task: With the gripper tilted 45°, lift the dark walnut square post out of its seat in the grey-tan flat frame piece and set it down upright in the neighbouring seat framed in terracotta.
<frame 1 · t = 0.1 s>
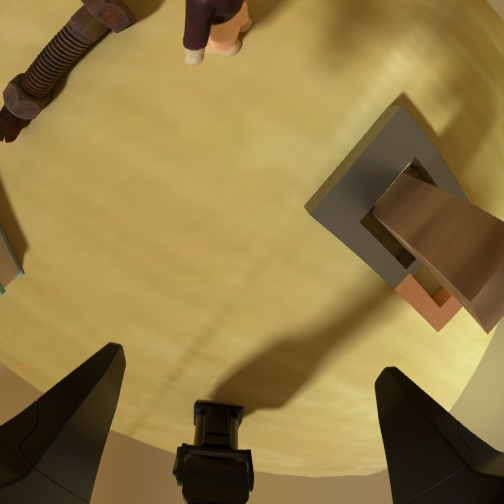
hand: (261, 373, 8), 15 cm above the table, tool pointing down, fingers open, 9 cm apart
grandmother figurine: (224, 38, 15), on the table
bolt: (63, 70, 15), on the table
grey-tan flat frame piece: (423, 235, 22), on the table
walnut post: (400, 208, 21), resting in grey-tan flat frame piece
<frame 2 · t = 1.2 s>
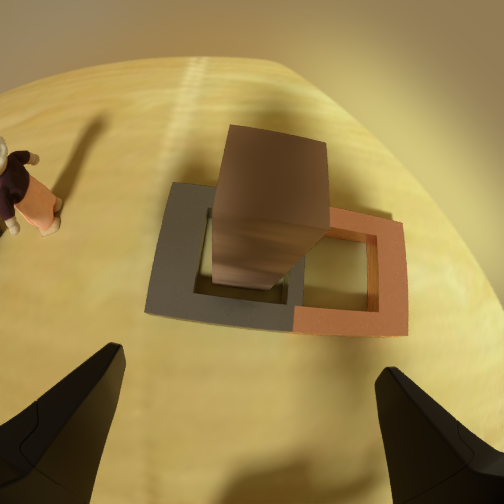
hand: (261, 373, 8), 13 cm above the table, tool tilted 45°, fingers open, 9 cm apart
grandmother figurine: (50, 221, 22), on the table
grey-tan flat frame piece: (290, 268, 23), on the table
walnut post: (243, 261, 23), resting in grey-tan flat frame piece
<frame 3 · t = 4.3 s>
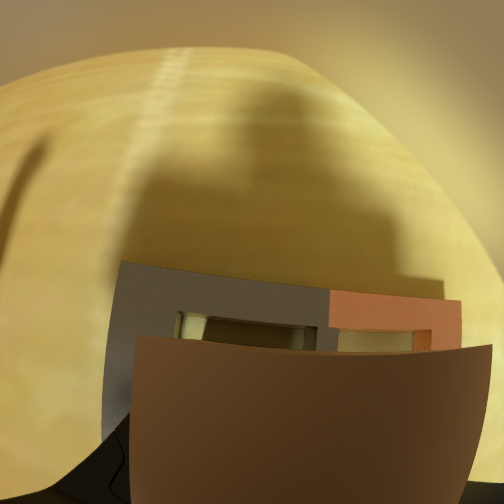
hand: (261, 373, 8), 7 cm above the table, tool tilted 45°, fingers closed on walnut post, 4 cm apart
grey-tan flat frame piece: (309, 387, 14), on the table
walnut post: (238, 384, 14), resting in grey-tan flat frame piece, touching gripper
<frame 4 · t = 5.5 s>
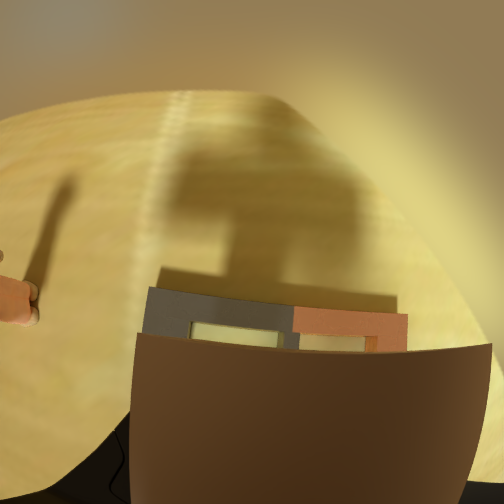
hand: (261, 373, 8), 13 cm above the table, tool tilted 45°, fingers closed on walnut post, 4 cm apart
grandmother figurine: (29, 309, 19), on the table
grey-tan flat frame piece: (281, 374, 21), on the table
walnut post: (238, 383, 14), point 7 cm above the table, touching gripper
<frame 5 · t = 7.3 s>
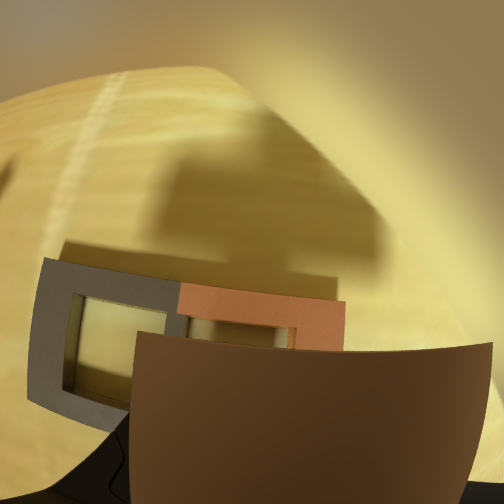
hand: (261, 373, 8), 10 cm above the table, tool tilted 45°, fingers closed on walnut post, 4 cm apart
grey-tan flat frame piece: (174, 365, 17), on the table
walnut post: (238, 383, 14), point 4 cm above the table, touching gripper
when the fingers open (7 cm above the table, at t = 8.7 s): walnut post stays where it is, resting in grey-tan flat frame piece.
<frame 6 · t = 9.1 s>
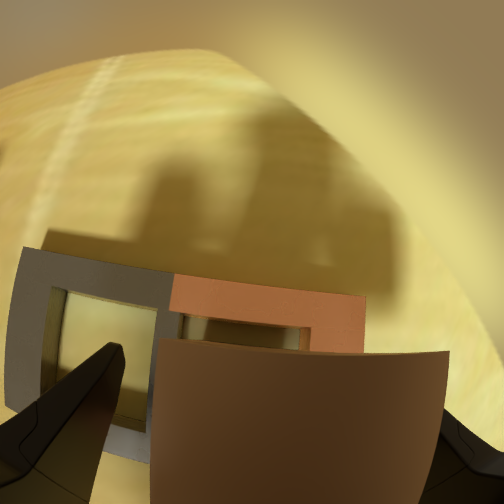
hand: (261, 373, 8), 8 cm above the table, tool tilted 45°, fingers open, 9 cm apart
grey-tan flat frame piece: (167, 371, 14), on the table
walnut post: (236, 381, 15), resting in grey-tan flat frame piece
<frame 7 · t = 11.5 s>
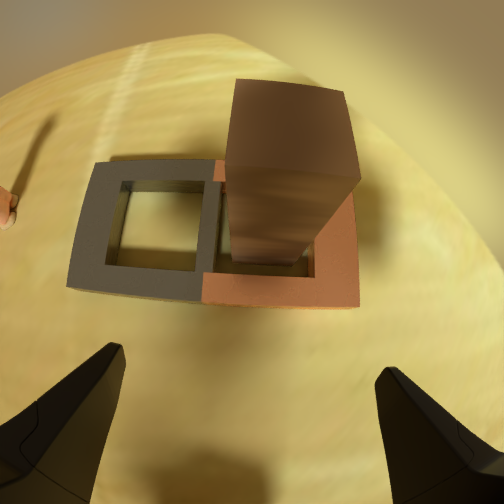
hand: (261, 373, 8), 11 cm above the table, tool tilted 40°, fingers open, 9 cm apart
grandmother figurine: (9, 216, 21), on the table
grey-tan flat frame piece: (210, 233, 21), on the table
walnut post: (263, 236, 22), resting in grey-tan flat frame piece
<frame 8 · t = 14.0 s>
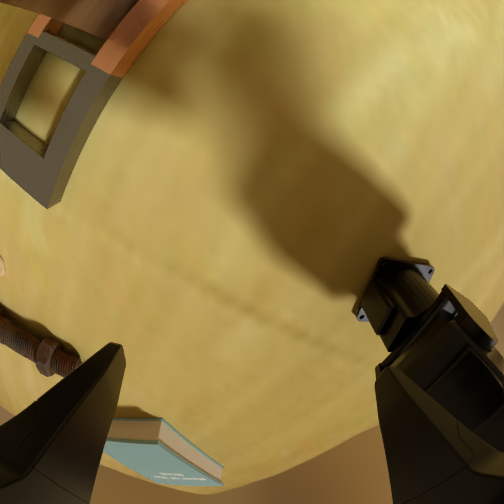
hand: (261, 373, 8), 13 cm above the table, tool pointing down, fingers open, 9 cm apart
book: (159, 445, 38), on the table
bolt: (38, 334, 26), on the table
grey-tan flat frame piece: (75, 52, 13), on the table
walnut post: (107, 9, 12), resting in grey-tan flat frame piece
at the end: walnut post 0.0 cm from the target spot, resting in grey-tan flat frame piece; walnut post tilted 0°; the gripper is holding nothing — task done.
